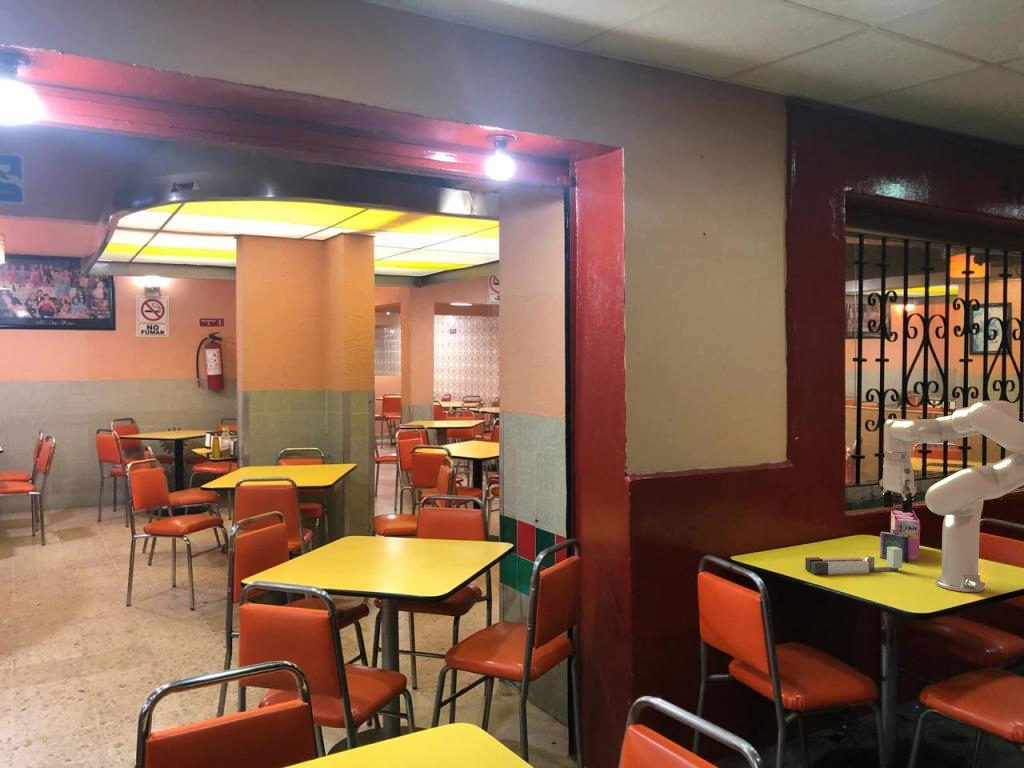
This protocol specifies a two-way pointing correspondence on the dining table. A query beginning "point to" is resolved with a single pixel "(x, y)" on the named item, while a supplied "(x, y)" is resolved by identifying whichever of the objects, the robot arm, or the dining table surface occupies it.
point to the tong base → (847, 567)
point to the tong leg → (827, 560)
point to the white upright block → (894, 557)
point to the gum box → (907, 530)
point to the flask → (894, 544)
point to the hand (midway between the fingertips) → (897, 509)
